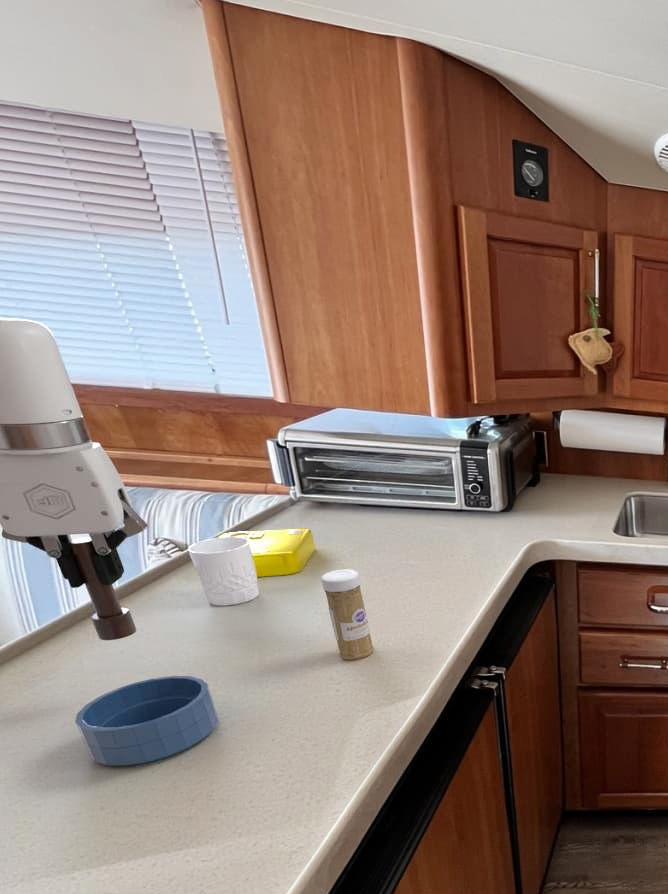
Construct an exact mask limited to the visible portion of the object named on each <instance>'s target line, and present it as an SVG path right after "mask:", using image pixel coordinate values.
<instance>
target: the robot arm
mask: <svg viewBox="0 0 668 894" xmlns="http://www.w3.org/2000/svg"><path fill="white" fill-rule="evenodd" d="M123 524H124V526H122V527H120V526H121V525H123ZM0 526H1V527H2V530H1V537H2V538H3V539H6V540H11V541H14V542H18V543H24V544H29V545H30V546H32V547H35V548H36V549H39V550H41V551H43V552H44V553H46V554H47V556H48V557H49V558H53V559H55V561H56V563H57V565H58V567H59V571H60V572H61V575H62V577H63V579H64V580H67V581H68V584H69V586H70V588H72V589H77V588H80V587H82V586H83V585H85V583H84V581H83V578H82V576H81V573H80V571H79V568H78V566H77V563H76V561H75V558H74V556H73V553H72V551H71V548H70V546H69V543H68V542H69V541H70V540H73V539H72V536H71V535H86V534H88V537H90V538H91V540H92V543H93V545H94V548H95V551H96V553H97V554H96V555H94V556H93V561H94V564H95V566H96V569H97V571H98V574H99V577H100V579H101V582H102V584H104V585H114V584H115V583H116V582H117V581H119V580H120V579H122V577H123V574H124V573H125V568H124V565H123V562H122V560H121V556H120V555H119V551H118V549H117V548H119V547H120V546H121V544H123V542H125V540H126V539H128V538H130V537H133V536H135V535H138V534H140V533H143V532H144V531H145V530H147V529H148V528H149V525H148V523H147V522H146V521H145V520H144V519H143V518H142V517H141V516H140V514H138V513H137V512H136V511H135V510H134V507H133V502H132V501H131V498H130V495H129V493H128V490H127V488H126V486H125V484H124V482H123V480H122V477H121V476H120V474H119V472H118V470H117V468H116V466H115V464H114V463H113V461H112V460H111V458H110V456H109V455H108V454H107V452H106V450H105V449H104V448H103V447H102V445H101V444H100V443H99V442H93V439H92V438H91V434H90V432H89V429H88V427H87V423H86V421H85V418H84V416H83V413H82V410H81V407H80V404H79V402H78V399H77V396H76V393H75V391H74V387H73V384H72V382H71V379H70V377H69V374H68V371H67V368H66V366H65V362H64V360H63V358H62V355H61V352H60V349H59V346H58V343H57V340H56V338H55V336H54V334H53V333H52V331H51V330H50V329H49V328H48V327H47V326H46V325H44V324H43V323H41V322H38V321H35V320H30V319H24V318H23V319H22V318H13V317H9V318H8V317H0Z"/></svg>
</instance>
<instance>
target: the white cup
mask: <svg viewBox="0 0 668 894" xmlns="http://www.w3.org/2000/svg"><path fill="white" fill-rule="evenodd" d="M187 552H188V554H189V557H190V558H191V559H190V560H191V561H192V565H193V567H194V570H195V572H196V575H197V578H198V580H199V581H200V584H201V586H202V588H203V590H204V593H205V595H206V597H207V600H208V603H209V604H212V605H213V606H222V607H226V606H235V605H239V604H243V603H247V602H250V601H252V600H254V599H256V598H258V597H259V596H260V590H259V585H258V577H257V576H256V569H255V564H254V560H253V555H252V550H251V545H250V541H249V540H248V539H246V538H242V537H221V538H218V537H213V538H209V539H205V540H201V541H198V542H195V543H193V544H191V545H189V546H188V547H187Z"/></svg>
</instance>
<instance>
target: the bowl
mask: <svg viewBox="0 0 668 894" xmlns="http://www.w3.org/2000/svg"><path fill="white" fill-rule="evenodd" d="M218 714H219V713H218V711H217V708H216V706H215V703H214V700H213V696H212V693H211V690H210V687H209V684H208V683H207V682H206V681H205V680H203V678H201V677H197V676H192V675H168V676H161V677H159V676H158V677H154V678H149V679H144V680H140V681H136V682H133V683H129V684H127V685H124V686H121V687H118V688H114V689H113V690H111V691H108V692H106V693H104V694H102V695H100V696H98V697H96V698H94V699H93V700H91V701H90V702H88V703H87V704H85V705H84V706H83V707H82V708H81V709H80V710H79V711H78V712H77V713H76V717H75V720H74V724H75V725H76V728H77V730H78V732H79V734H80V737H81V739H82V741H83V743H84V745H85V747H86V750H87V752H88V755H89V757H90V758H91V759H92V760H93V761H94V762H96V763H98V764H102V765H106V766H132V765H133V766H134V765H142V764H146V763H151V762H155V761H159V760H163V759H166V758H168V757H171V756H173V755H176V754H179V753H180V752H183V751H186V750H187V749H189V748H190V747H192V746H194V745H196V744H197V743H199V742H200V741H202V740H203V739H204V738H205V737H207V736H208V735H209V734H211V733H212V732H213V731H214V729H215V728H216V726H217V724H218V723H219V715H218Z"/></svg>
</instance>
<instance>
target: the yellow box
mask: <svg viewBox="0 0 668 894" xmlns="http://www.w3.org/2000/svg"><path fill="white" fill-rule="evenodd" d="M313 536H314V535H313V531H312V530H311V529H310V528H292V529H273V530H272V529H271V530H256V531H255V530H253V531H244V530H243V531H234V532H225V533H223V534H221V535H220V536H218V537H217V538H221V537H242V538H246V539H248V540H249V541H250V545H251V550H252V555H253V560H254V564H255V569H256V576H257V578H263V577H264V578H265V577H278V576H289V575H294V574H298V573H299V572H301V571H302V570H303V569H304V568H305V566H306V565H307V563H308V561H309V559H310V558H311V557H312V555H313V554H314V553H315V550H316V544H315V540H314V537H313Z"/></svg>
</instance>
